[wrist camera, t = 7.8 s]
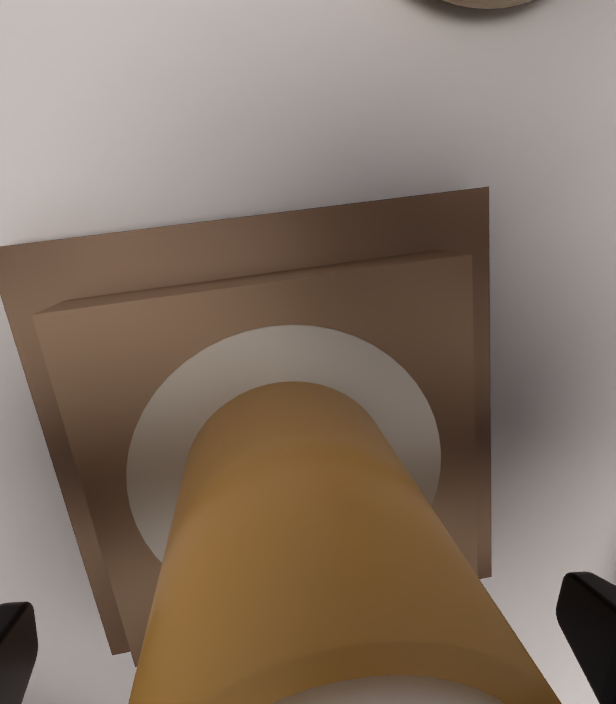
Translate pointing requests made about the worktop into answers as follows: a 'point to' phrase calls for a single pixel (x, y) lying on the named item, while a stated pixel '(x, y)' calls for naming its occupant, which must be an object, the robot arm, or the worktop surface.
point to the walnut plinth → (252, 360)
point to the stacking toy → (487, 3)
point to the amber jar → (318, 573)
